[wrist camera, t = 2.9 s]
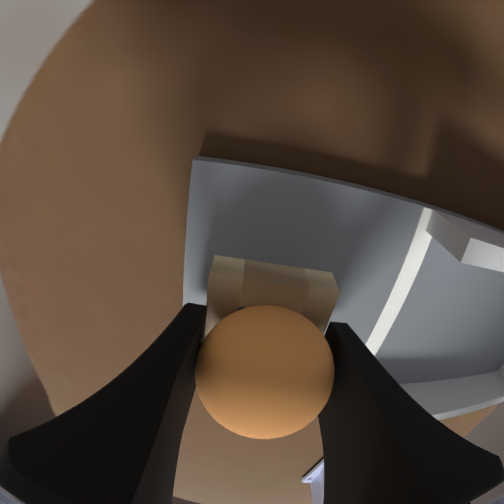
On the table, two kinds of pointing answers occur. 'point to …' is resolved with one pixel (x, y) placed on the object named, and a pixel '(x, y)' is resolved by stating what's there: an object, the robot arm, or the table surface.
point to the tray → (367, 270)
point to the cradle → (268, 290)
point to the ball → (264, 372)
